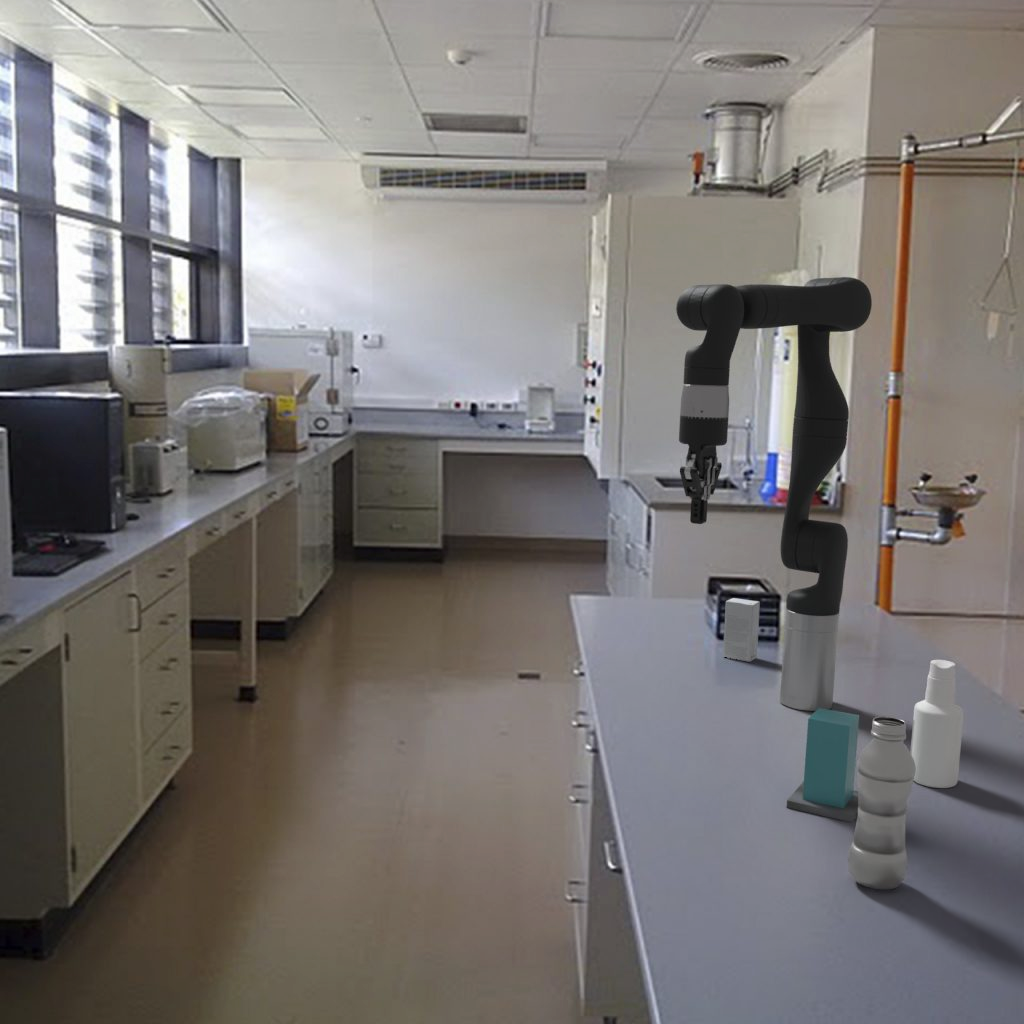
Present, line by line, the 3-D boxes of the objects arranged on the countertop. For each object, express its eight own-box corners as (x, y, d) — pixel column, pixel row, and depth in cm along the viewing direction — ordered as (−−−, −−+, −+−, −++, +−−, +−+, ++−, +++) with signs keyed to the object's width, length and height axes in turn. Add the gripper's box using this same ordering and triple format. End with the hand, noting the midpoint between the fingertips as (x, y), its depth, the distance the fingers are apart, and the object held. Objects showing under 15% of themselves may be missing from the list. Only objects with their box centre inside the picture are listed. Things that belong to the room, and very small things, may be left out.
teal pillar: (813, 786, 160) (818, 707, 158) (853, 794, 157) (859, 715, 155) (802, 799, 155) (808, 718, 153) (843, 808, 152) (849, 726, 151)
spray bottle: (956, 775, 168) (966, 659, 166) (958, 792, 162) (969, 671, 159) (908, 769, 171) (917, 654, 168) (908, 784, 164) (918, 665, 162)
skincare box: (757, 658, 231) (760, 601, 229) (749, 662, 228) (753, 605, 226) (729, 653, 234) (732, 597, 233) (721, 657, 231) (725, 600, 229)
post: (804, 786, 162) (808, 733, 161) (867, 800, 158) (872, 745, 157) (786, 807, 155) (790, 751, 153) (852, 822, 150) (857, 765, 149)
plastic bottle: (838, 871, 136) (850, 712, 133) (891, 870, 136) (905, 712, 133) (858, 897, 129) (872, 730, 126) (915, 896, 130) (929, 730, 127)
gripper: (712, 416, 168) (706, 530, 171) (740, 414, 180) (734, 520, 182) (666, 414, 172) (660, 525, 174) (696, 411, 183) (690, 516, 186)
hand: (698, 522), depth 178 cm, fingers closed
